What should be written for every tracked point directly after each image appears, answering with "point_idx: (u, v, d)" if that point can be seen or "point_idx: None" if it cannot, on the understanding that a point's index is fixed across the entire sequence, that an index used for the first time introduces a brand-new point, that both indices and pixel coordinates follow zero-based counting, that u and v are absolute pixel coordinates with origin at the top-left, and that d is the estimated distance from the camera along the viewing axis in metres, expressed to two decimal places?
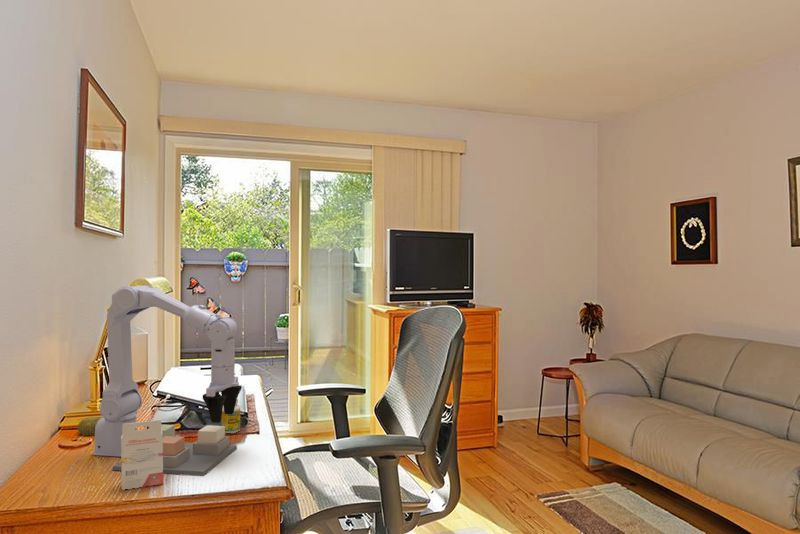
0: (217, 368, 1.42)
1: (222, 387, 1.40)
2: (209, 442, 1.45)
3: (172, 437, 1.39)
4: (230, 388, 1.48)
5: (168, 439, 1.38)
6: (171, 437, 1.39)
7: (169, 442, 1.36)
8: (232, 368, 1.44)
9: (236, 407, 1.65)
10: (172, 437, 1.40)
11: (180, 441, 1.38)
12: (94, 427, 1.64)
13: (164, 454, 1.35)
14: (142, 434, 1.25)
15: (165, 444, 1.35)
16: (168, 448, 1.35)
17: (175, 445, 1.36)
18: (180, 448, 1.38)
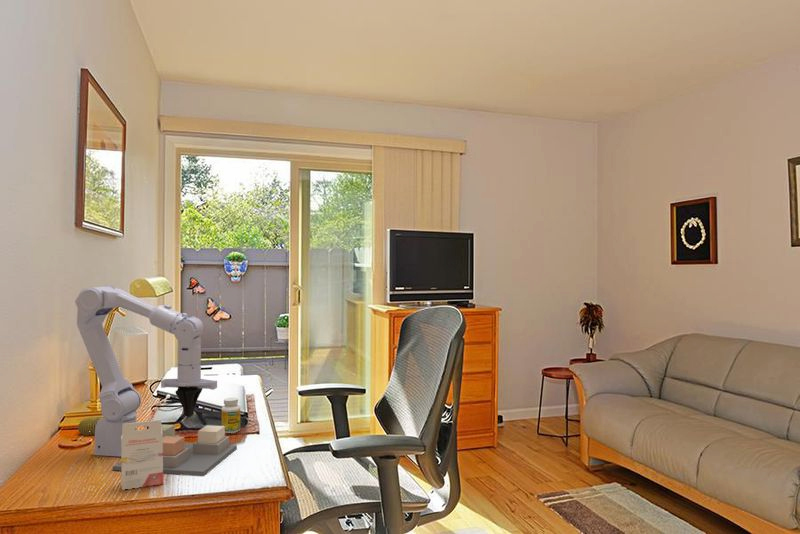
0: None
1: (171, 382, 1.46)
2: (209, 442, 1.45)
3: (172, 437, 1.39)
4: None
5: (168, 439, 1.38)
6: (171, 437, 1.39)
7: (169, 442, 1.36)
8: (182, 368, 1.44)
9: (236, 407, 1.65)
10: (172, 437, 1.40)
11: (180, 441, 1.38)
12: (94, 427, 1.64)
13: (164, 454, 1.35)
14: (142, 434, 1.25)
15: (165, 444, 1.35)
16: (168, 448, 1.35)
17: (175, 445, 1.36)
18: (180, 448, 1.38)
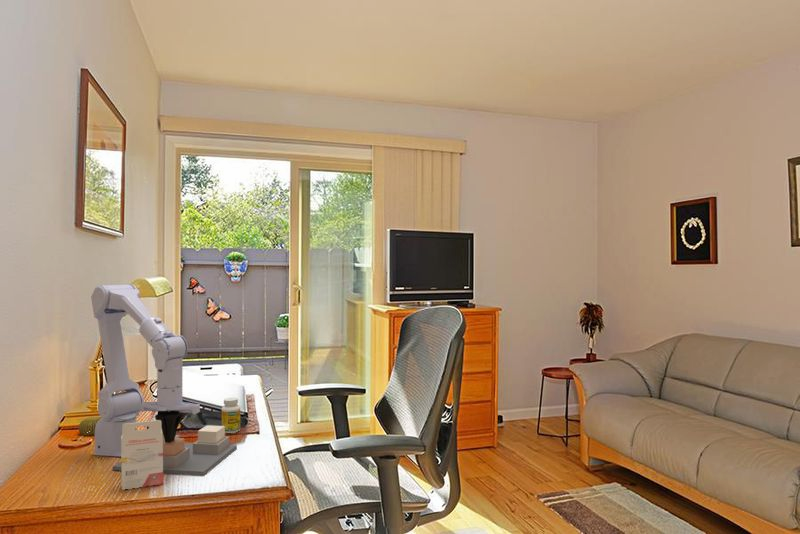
0: None
1: (150, 406, 1.36)
2: (209, 442, 1.45)
3: None
4: None
5: None
6: None
7: (169, 444, 1.36)
8: (162, 391, 1.35)
9: (236, 407, 1.65)
10: None
11: (180, 443, 1.38)
12: None
13: None
14: (142, 434, 1.25)
15: (165, 446, 1.35)
16: (168, 450, 1.35)
17: (175, 447, 1.36)
18: (180, 450, 1.38)
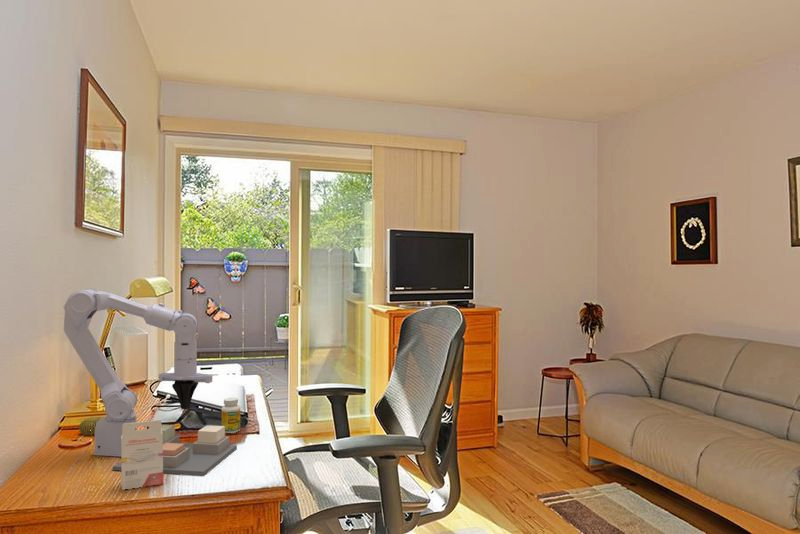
0: None
1: (168, 376, 1.51)
2: (209, 442, 1.45)
3: (172, 444, 1.39)
4: None
5: (168, 446, 1.38)
6: (171, 444, 1.39)
7: (169, 449, 1.36)
8: (178, 362, 1.50)
9: (236, 407, 1.65)
10: (172, 443, 1.40)
11: (180, 448, 1.38)
12: None
13: None
14: (142, 434, 1.25)
15: (165, 451, 1.35)
16: (168, 455, 1.35)
17: (175, 452, 1.36)
18: None
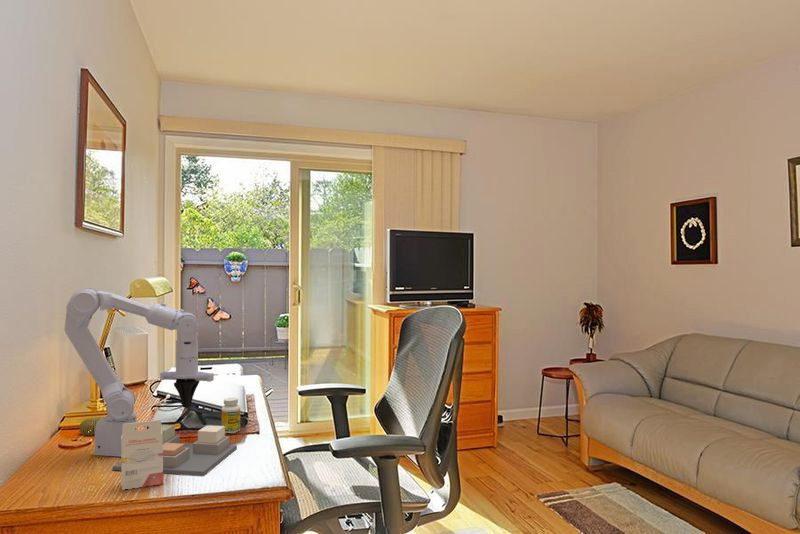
0: None
1: (169, 375, 1.53)
2: (209, 442, 1.45)
3: (172, 444, 1.39)
4: None
5: (168, 446, 1.38)
6: (171, 444, 1.39)
7: (169, 449, 1.36)
8: (180, 361, 1.51)
9: (236, 407, 1.65)
10: (172, 443, 1.40)
11: (180, 448, 1.38)
12: None
13: None
14: (142, 434, 1.25)
15: (165, 451, 1.35)
16: (168, 455, 1.35)
17: (175, 452, 1.36)
18: None
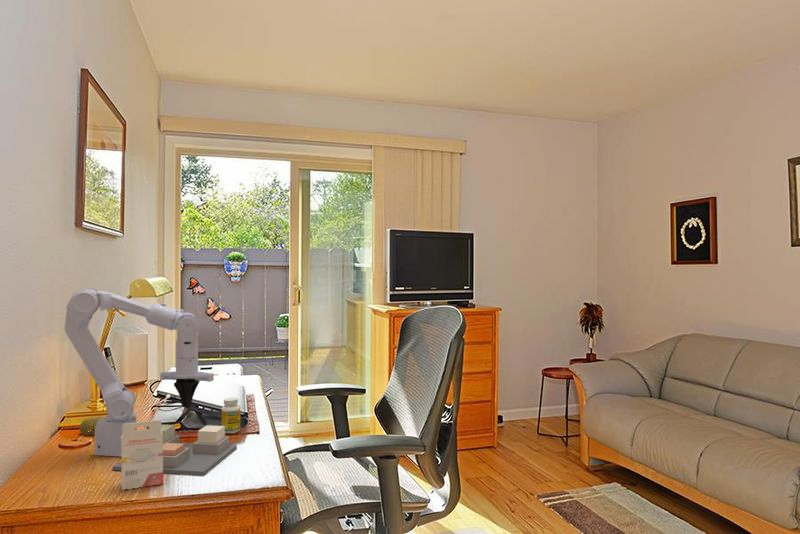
0: None
1: (169, 375, 1.53)
2: (209, 442, 1.45)
3: (172, 444, 1.39)
4: None
5: (168, 446, 1.38)
6: (171, 444, 1.39)
7: (169, 449, 1.36)
8: (180, 361, 1.51)
9: (236, 407, 1.65)
10: (172, 443, 1.40)
11: (180, 448, 1.38)
12: None
13: None
14: (142, 434, 1.25)
15: (165, 451, 1.35)
16: (168, 455, 1.35)
17: (175, 452, 1.36)
18: None
